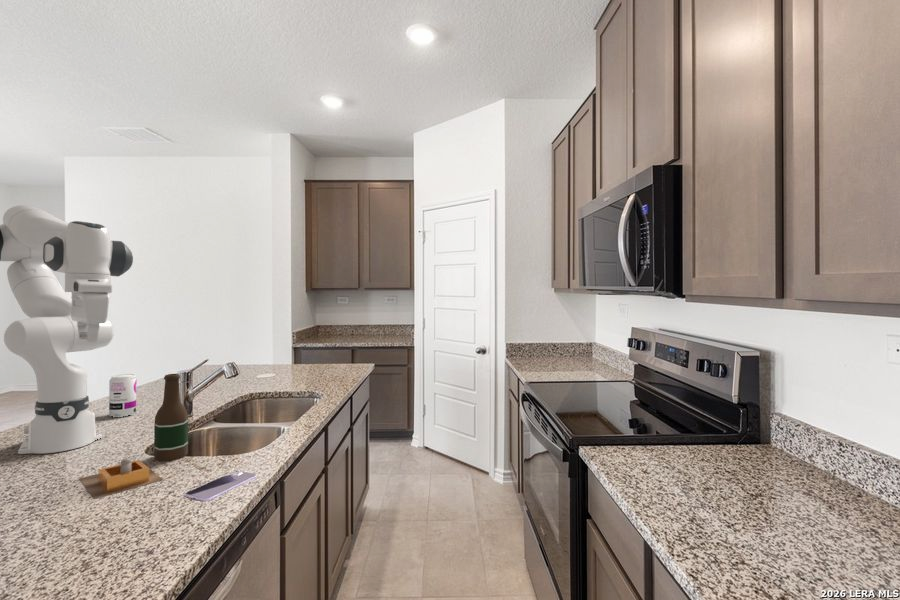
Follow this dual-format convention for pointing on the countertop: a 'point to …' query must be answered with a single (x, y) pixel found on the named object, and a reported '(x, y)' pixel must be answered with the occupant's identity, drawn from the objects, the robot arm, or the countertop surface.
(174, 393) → the beer bottle
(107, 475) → the orange hollow square frame
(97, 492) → the board
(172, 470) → the countertop surface
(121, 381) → the supplement can
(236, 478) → the mobile phone
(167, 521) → the countertop surface
